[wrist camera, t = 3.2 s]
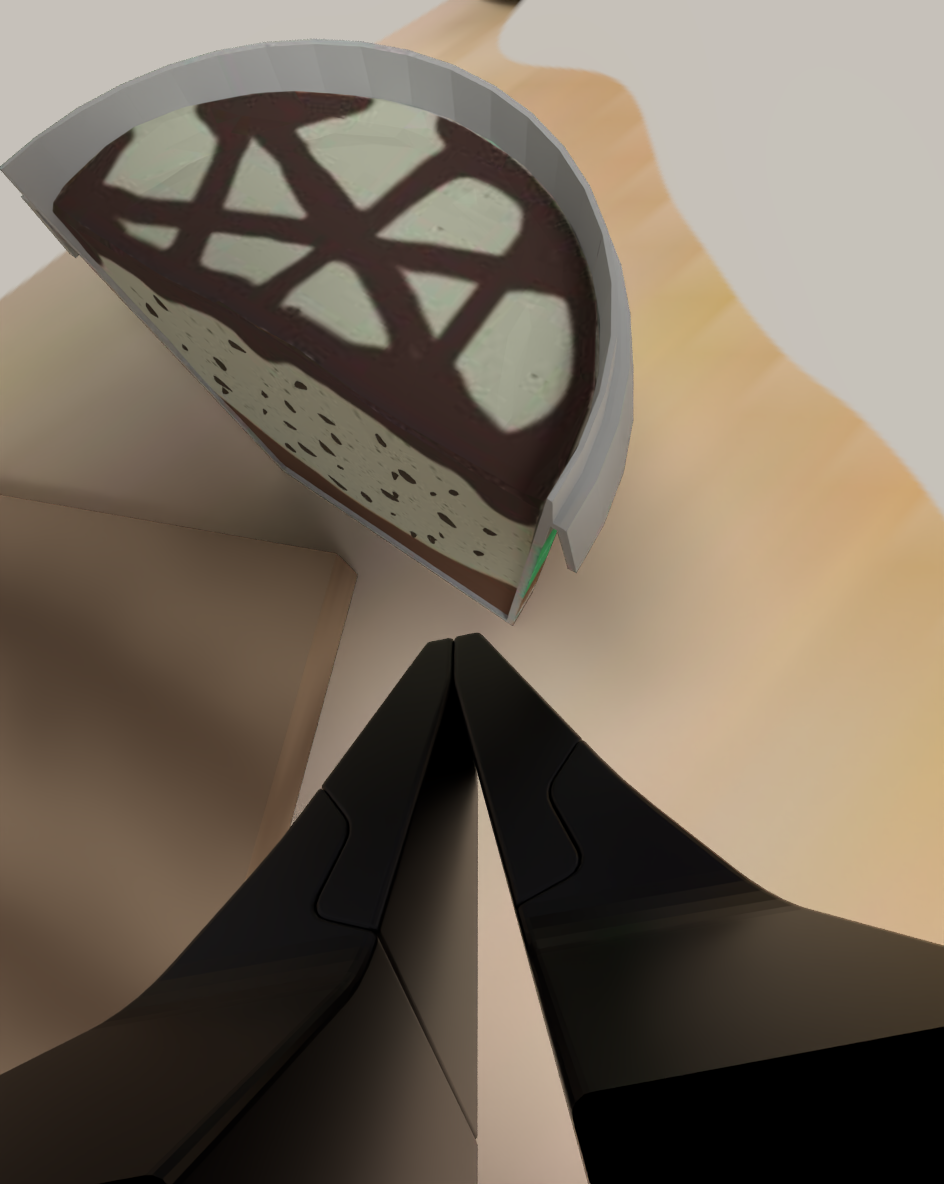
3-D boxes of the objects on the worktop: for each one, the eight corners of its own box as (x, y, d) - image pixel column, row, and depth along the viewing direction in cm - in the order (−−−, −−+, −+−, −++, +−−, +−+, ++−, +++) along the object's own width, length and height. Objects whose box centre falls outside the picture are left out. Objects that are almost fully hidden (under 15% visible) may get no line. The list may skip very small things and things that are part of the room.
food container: (667, 491, 18) (829, 182, 8) (555, 654, 17) (588, 524, 7) (360, 317, 21) (212, -63, 11) (249, 448, 20) (-21, 155, 10)
